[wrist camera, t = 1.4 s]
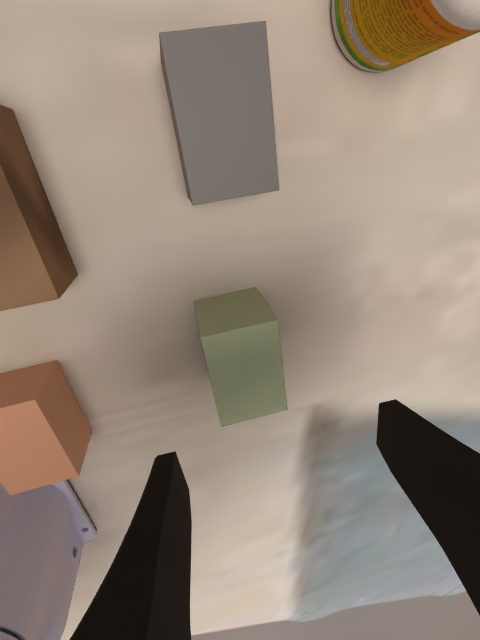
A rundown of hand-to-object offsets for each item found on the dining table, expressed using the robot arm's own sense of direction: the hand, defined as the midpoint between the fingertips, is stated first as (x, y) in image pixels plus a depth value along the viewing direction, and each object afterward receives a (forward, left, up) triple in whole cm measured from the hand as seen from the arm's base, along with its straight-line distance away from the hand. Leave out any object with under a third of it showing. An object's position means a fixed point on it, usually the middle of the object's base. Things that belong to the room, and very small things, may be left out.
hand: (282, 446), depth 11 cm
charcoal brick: (+10, -1, -12) cm, 16 cm away
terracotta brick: (-4, +13, -12) cm, 18 cm away
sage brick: (-2, 0, -11) cm, 12 cm away
